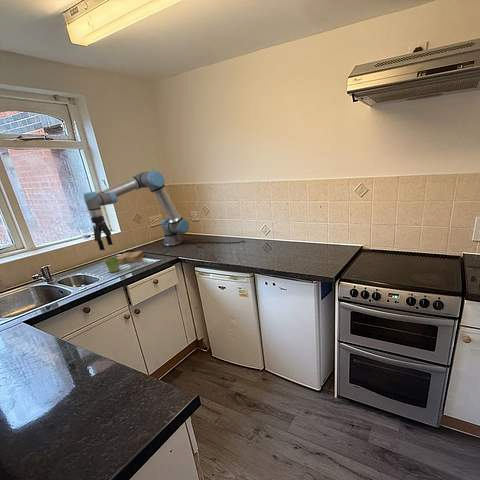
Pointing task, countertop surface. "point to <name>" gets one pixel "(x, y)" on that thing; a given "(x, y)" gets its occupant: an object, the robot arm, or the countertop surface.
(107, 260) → the plant pot
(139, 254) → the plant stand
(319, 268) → the countertop surface
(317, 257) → the countertop surface
